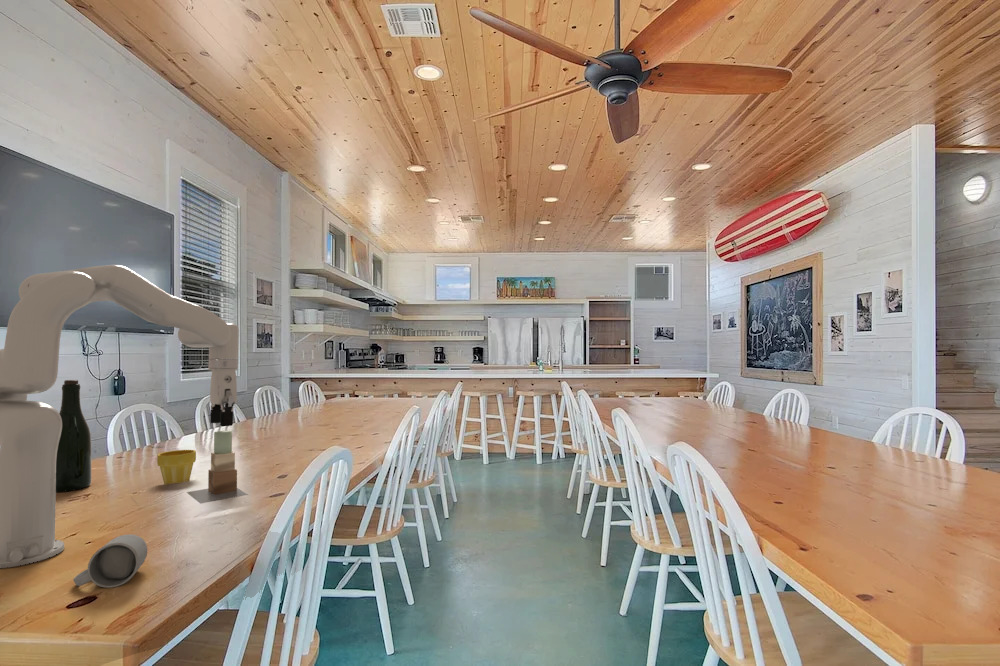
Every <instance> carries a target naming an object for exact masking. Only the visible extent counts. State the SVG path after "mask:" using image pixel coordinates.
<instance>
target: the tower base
mask: <svg viewBox="0 0 1000 666" xmlns="http://www.w3.org/2000/svg"><path fill="white" fill-rule="evenodd" d="M207 473H208V479H207V480H208V482H207V483H208V484H207V485H208V487H207V489H208V491H210V492H211V493H212V494H214V495H215V494H221V493H226V492H232V491H237V488H238V470H237V469H236V468H235V470H230V471H224V472H217V473H215V472H214V471H212V470H211V468H210V469H208V472H207Z"/></svg>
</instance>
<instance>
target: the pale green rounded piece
mask: <svg viewBox="0 0 1000 666" xmlns="http://www.w3.org/2000/svg"><path fill="white" fill-rule="evenodd" d="M213 438H214V439H213V452H214V454H227V453H231V452H232V451H233V431H232V430H217V431H214V432H213Z"/></svg>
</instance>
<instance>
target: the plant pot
mask: <svg viewBox="0 0 1000 666" xmlns="http://www.w3.org/2000/svg"><path fill="white" fill-rule="evenodd" d="M196 459H197V450H195V449H177V450H169V451H164V452H163V451H162V452H159V453H158V454H157V456H156V464H157V466H158V467H159V469H160V472H161V476H162V477H161V478H162V480H163V484H164V485H165V486H166V485H171V484H180V483H185V482H189V481H190V480H191V475H192V472H193V471H192V470H193V466H194V464H195V462H196Z"/></svg>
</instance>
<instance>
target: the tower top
mask: <svg viewBox="0 0 1000 666" xmlns="http://www.w3.org/2000/svg"><path fill="white" fill-rule="evenodd" d="M235 459H236V452H234V451H233V450H232V452H231V453H227V454H214V451H213V452H210V469H211V470H212V471H214V472H215V473H217V472H224V471H230V470H235V469H236V468H235V467H236V462H235V461H236V460H235Z"/></svg>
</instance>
